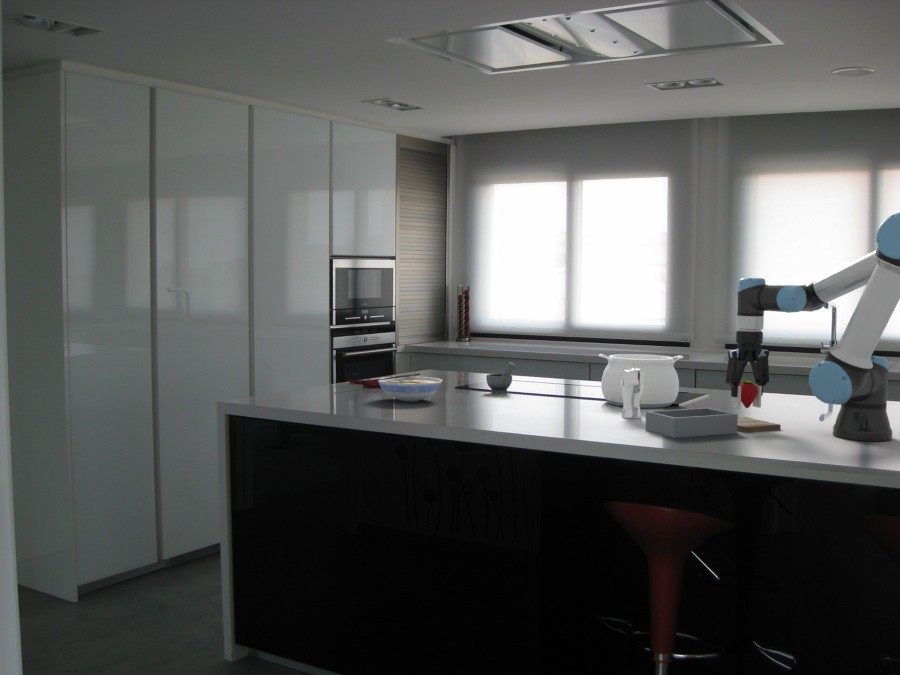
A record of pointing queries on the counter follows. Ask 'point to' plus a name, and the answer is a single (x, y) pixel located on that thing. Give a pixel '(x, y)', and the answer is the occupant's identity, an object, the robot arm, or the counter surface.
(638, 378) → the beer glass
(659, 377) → the pot
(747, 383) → the strawberry
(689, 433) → the crate
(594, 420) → the counter surface
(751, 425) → the display board
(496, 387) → the mortar and pestle
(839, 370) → the robot arm
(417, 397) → the ramen bowl
